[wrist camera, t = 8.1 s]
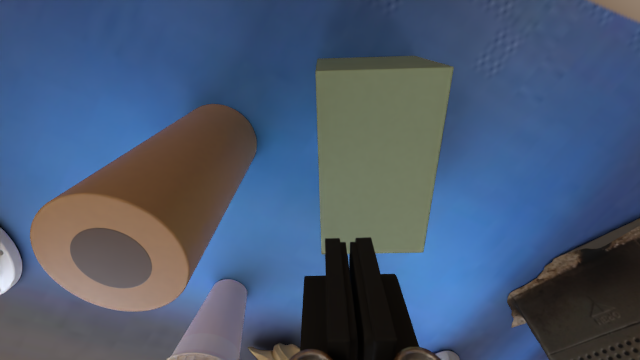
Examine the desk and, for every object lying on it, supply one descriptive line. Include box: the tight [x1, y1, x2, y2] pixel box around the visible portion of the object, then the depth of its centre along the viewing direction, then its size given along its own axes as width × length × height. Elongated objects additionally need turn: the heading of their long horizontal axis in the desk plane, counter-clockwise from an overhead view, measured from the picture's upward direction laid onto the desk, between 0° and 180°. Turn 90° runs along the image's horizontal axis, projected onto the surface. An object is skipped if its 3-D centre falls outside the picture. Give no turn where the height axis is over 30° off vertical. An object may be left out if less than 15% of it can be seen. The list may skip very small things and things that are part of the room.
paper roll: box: [30, 104, 257, 312], centre depth 18 cm, size 13×6×15 cm, turn 94°
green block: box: [316, 56, 454, 254], centre depth 21 cm, size 7×12×7 cm, turn 2°
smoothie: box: [166, 279, 247, 360], centre depth 26 cm, size 6×6×14 cm
